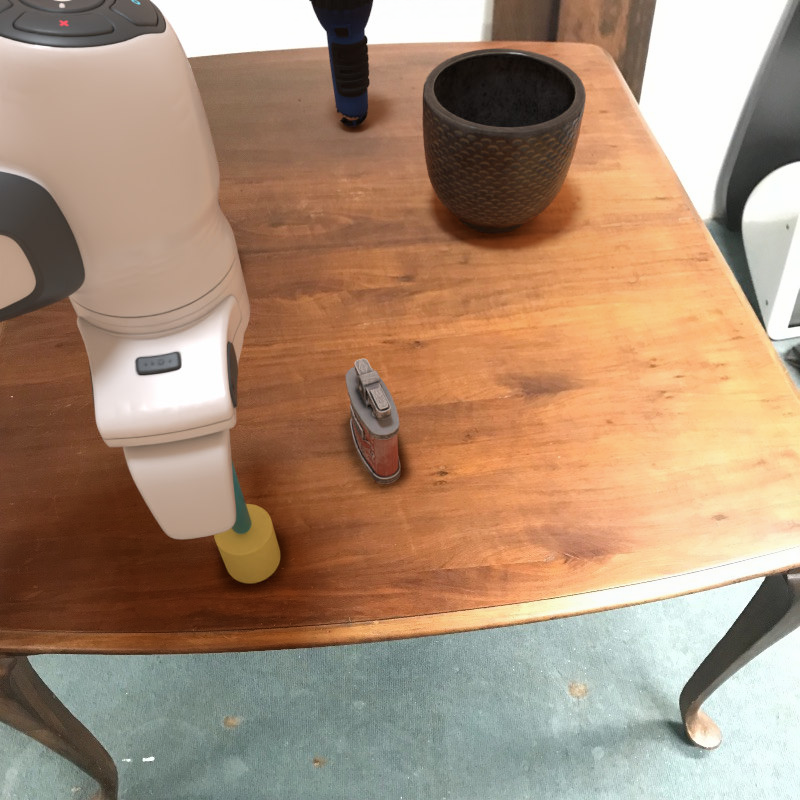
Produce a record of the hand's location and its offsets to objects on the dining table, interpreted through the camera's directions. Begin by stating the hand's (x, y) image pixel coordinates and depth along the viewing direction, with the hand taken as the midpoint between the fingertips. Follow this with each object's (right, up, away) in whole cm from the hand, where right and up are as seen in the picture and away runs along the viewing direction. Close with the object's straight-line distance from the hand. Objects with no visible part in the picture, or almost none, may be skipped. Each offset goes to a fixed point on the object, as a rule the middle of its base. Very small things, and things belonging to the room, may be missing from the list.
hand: (214, 447), depth 53 cm
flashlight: (+6, +41, +54) cm, 68 cm away
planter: (+24, +26, +42) cm, 55 cm away
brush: (0, -10, +12) cm, 16 cm away
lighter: (+10, -2, +20) cm, 22 cm away
